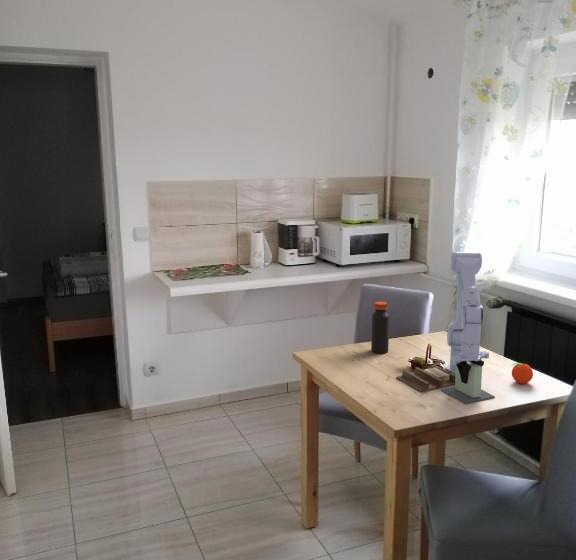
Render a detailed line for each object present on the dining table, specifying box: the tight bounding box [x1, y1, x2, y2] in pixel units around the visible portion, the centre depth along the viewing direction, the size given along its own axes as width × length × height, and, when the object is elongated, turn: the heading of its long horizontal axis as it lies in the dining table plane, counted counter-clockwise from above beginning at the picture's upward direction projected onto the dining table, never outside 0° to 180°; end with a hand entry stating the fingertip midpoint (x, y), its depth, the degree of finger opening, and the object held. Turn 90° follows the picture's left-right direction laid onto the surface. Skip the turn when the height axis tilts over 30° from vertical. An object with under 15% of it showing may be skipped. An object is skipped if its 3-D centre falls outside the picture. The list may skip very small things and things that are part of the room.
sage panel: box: [454, 361, 483, 398], centre depth 196 cm, size 3×9×10 cm, turn 24°
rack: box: [396, 364, 456, 393], centre depth 209 cm, size 16×14×3 cm
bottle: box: [370, 301, 390, 355], centre depth 237 cm, size 7×7×20 cm
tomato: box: [508, 362, 534, 384], centre depth 206 cm, size 8×7×7 cm
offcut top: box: [423, 367, 450, 379], centre depth 210 cm, size 5×8×1 cm, turn 25°
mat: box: [440, 386, 496, 405], centre depth 197 cm, size 12×12×1 cm
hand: (468, 381), depth 197 cm, fingers closed on sage panel, 3 cm apart
